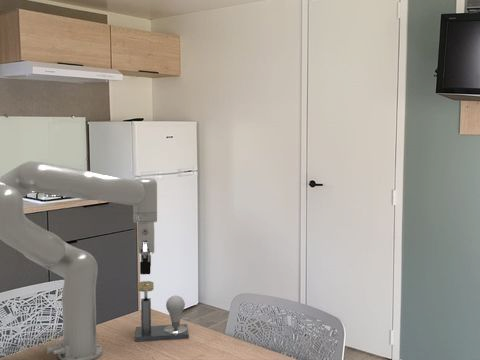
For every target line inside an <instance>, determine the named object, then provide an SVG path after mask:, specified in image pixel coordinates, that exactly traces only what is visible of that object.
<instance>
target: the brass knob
mask: <svg viewBox="0 0 480 360" xmlns="http://www.w3.org/2000/svg"><path fill="white" fill-rule="evenodd" d="M137 291H138V292H142V293H143V294H144V295H143V299H144V301H147V298H148V292H152V291H154V282H153V281H149V280H145V281H143V280H142V281H140V282H138V283H137Z"/></svg>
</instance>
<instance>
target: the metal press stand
mask: <svg viewBox="0 0 480 360" xmlns="http://www.w3.org/2000/svg"><path fill="white" fill-rule="evenodd" d="M140 299H141V300H140V308H141V309H140V310H141V311H140V313H141V315H140V318H141V320H140V321H141V326H135V333H134V342H135V343H136V342H150V341H154V342H155V341H170V340H184V339H185V340H188V339H190V338H189V328H188V324H187V323H181V324H180V326H179V327H178V328H177V329H175V328H173V327H172V324H162V325H161V324H160V325H152V306H151V305H152V304H151V303H152V301H151V299H152V298H148V297H147V301H144V298H140Z"/></svg>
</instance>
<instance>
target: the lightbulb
mask: <svg viewBox="0 0 480 360" xmlns="http://www.w3.org/2000/svg"><path fill="white" fill-rule="evenodd" d="M165 303H166V305H165V306H166V310H167V312H168V313H169V316H170V317H169V318H170V321H171V325H172V327H173V328H175V329H177V328H178V327H179V326H180V323H181V318H182V317H181V316H182V314H183V311H184V309H185V306H186V302H185V300H184V299H183V297H182V296H179V295H173V296H170V297H169V298H168V299H167V301H166V302H165Z"/></svg>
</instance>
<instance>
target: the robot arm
mask: <svg viewBox="0 0 480 360" xmlns="http://www.w3.org/2000/svg"><path fill="white" fill-rule="evenodd" d="M32 192H35V193H41V194H45V195H46V194H47V195H52V196H53V195H54V196H60V197H68V198H74V199H80V200H87V201H88V200H89V201H100V202H101V201H102V202H109V203H113V204H121V205H127V206H133V207H132V208H133V209H132V210H133V211H132V213H133V217H132V218H133V223H135V224H136V227H137V228H136V229H137V248H138V249H137V250H138V253H139V254H140V261H139V275H151V268H152V267H151V266H152V263H151V262H152V259H151V258H152V255H151V254H155V223H157V222H158V183H157V180H156V179H154V178H152V177H151V178H150V177H148V178H147V177H143V178H137V179H136V178H135V179H131V178H129V179H128V178H123V177H122V178H121V177H116V176H111V175H106V174H102V173H98V172H94V171H90V170H86V169H81V168H75V167H70V166H64V165H60V164H53V163H48V162H41V161H34V160H30V161H26V162H24V163H22V164H20V165H18V166H17V167H15V168H12V169H11V170H10V171H8V172H6V173H5V174H3V175H1V176H0V240H1V241H2V242H4V243H5V244H6V245H7V246H8V247H9V246H10V247H11V248H13V249H14V250H16V251H18V252H19V253H21V254H22V255H23V256H24V257H25V258H27V259H29V260H30V261H31V262H34V263H35V264H37V265H39V266H40V267H43V268H44V269H46V270H49V271H50V272H52V273H54V274H55V275H58V276H59V277H62V278H63V279H64V281H63V286H62V292H61V293H62V294H61V306H62V307H61V310H62V338H63V339H60V343H57V345H51V346H46V354H47V355H48V354H53V356H56V355H57V358H58V359H59V360H95V359H97V358H98V357H100V356H101V355H102V353H103V347H102V346H101V345H100V344H99V343H98V342H97V339H98V338H97V306H96V305H97V302H96V301H97V299H96V298H97V297H96V295H97V294H96V293H97V292H96V288H97V287H96V286H97V278H98V271H99V269H98V268H99V267H98V262H97V261H96V258H95V257H94V255H92V254H91V253H90V252H88V251H86V250H83V249H80V248H78V247H76V246H73V245H71V244H69V243H67V242H66V241H64V240H62V238H61V237H60V236H58V235H57V234H55V232H52V231H49V230H46V229H45V228H43V227H41V226H40V225H38V224H36V223H35V222H33V220H30V219H29V218H27V216H26V215H25V212H24V211H25V210H24V199H23V198H25V197H26V196H28V195H29V194H30V193H32Z"/></svg>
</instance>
